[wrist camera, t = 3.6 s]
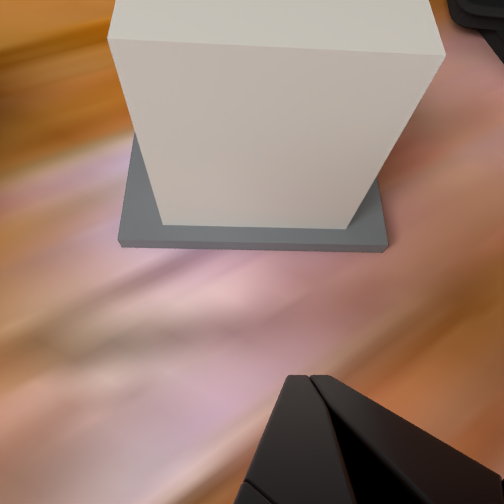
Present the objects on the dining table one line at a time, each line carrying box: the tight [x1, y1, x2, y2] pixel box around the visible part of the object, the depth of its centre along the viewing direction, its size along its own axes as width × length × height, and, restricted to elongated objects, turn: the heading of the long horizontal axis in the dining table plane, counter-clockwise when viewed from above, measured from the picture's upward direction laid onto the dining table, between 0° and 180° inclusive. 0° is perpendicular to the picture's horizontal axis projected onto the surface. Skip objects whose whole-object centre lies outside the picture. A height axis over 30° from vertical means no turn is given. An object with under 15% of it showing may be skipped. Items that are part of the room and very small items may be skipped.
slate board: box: [118, 133, 389, 253], centre depth 27 cm, size 18×16×1 cm
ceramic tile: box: [107, 0, 446, 229], centre depth 19 cm, size 3×11×12 cm, turn 90°
